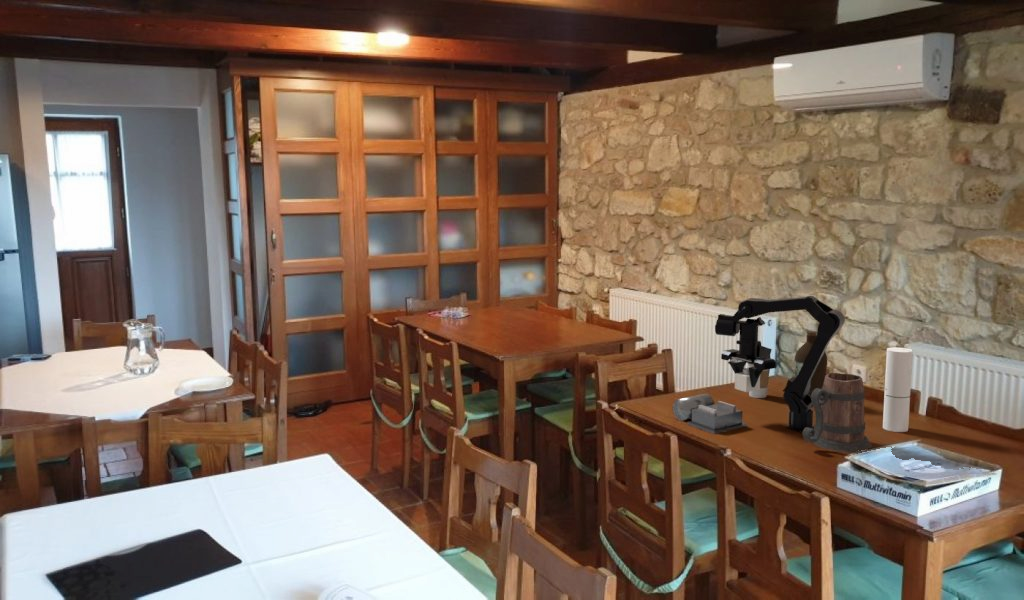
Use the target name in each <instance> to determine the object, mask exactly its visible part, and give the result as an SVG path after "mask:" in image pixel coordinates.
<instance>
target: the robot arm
mask: <svg viewBox="0 0 1024 600" xmlns="http://www.w3.org/2000/svg"><path fill="white" fill-rule="evenodd" d="M737 309H738V310H737V311H736V312H735V313H734V314H733V315H730V314H729V315H728V314H724V313H720V314H718V315H717V319H716V323H715V325H714V331H715V334H716V335H717V336H718V335H719V336H724V337H725V336H727V337H735V336H736V335H737V334H739V339H738V340H736V343H735V344H736V345H738V348H739V349H735V348H732V349H724V350H723V351H722V352H721V354H720V355H721V356H720V359H721V360H723V361H727V363H728V365H730V367H731V369H732V370H733V372H734V375H735V374H736V373H741V372H743V369H744V368H745V366H746V364H748V363H747V362H749V363H753V367H749V375H750V382H751V386H752V387H755V386H756V383H757V381H758V378H759V376H760V374H761V372H762V371H763V370H767V369H770V370H771V369H772V370H773V369H776V368H777V360H775V358H771V353H772V351H773V350H772V348H769V347H766V346H763V345H762V342H761V341H760V340H759V326H761V327H762V326H765V325H766V322H765V321H764V319H762V317H761V315H765V314H769V313H781V312H792V311H794V312H795V311H806V312H807V313H808V314H809V315H810V316H811V317H812V318H813V319H814V320H815V321H817V322H818V326H817V330H816V331H817V336H816V339H815V341H814V343H813V345H812V347H811V349H810V351H809V353H808V355H807V357H806V359H805V361H804V363H803V365H802V367H801V369H800V371H799V374H798V376H797V377H795V375H793V376H791V378H789V379H788V380H787V382H786V385H785V388H784V389H783V390H782V392H783V396H782V398H783V400H784V402H785V403H786V404H787V406H788V409H789V412H788V424H787V425H786V426H785V427H786V429H790V430H793V431H795V432H799V433H803V430H804V429H805V428H806V427H809V428H812V429H814V427H815V426H814V425H813V423H814V422H813V421H814V411H813V410H812V408H814V407H813V404H812V400H811V397H810V396H809V395H808V391H809V388H810V381H811V378H812V376H813V374H814V372H815V370H816V368H817V366H818V364H819V362H820V360H821V358H822V356H823V354H824V352H825V353H826V350H827V348H828V346H829V345H830V342H831V341H832V339H833V338H834V337H835V336H836V334H837V333H838V332H839V330H840V329H841V328H842V327H843V326H844V324H845V321H846V318H845V316H844V314H843V313H842V312H841V311H839V310H838V309H833V308H832V307H831V306H829V305H827V304H825V303H824V302H823V301H820V299H818V298H817V297H816V296H814V295H808V296H800V297H788V298H779V299H767V298H766V299H765V298H755V297H750V298H747V299H744V300H743V301H740V303H739V304H738V307H737ZM754 317H757V318H754ZM743 319H746V320H743ZM757 357H764V358H757ZM769 357H770V358H769Z"/></svg>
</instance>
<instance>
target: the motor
mask: <svg viewBox="0 0 1024 600" xmlns="http://www.w3.org/2000/svg"><path fill="white" fill-rule="evenodd" d="M672 411H673V415H674V417H675V418H676V419H677V420H679V421H681V422H682V421H687V420H688V421H687V423H686V424H687V425H689V426H691V427H694V428H696V429H699V430H702V431H704V432H706V433H707V432H708V433H710V434H713V435H716V434H719V433H720V434H721V433H724V432H729V431H734V430H738V429H741V428H745V427H748V426H747V425H748V423H746V422H743V410H741V409H737V405H735V404H731V403H729V402H728V403H727V402H725V401H721V400H718V401H717V403H716V404H715V400H714V398H713V397H712V396H711V395H710V394H708V393H702V394H697V395H692V396H688V397H687V396H686V397H683V398H677V399H675V400H674V401H673V404H672ZM689 420H690V421H689Z"/></svg>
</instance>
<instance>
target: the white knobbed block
mask: <svg viewBox="0 0 1024 600" xmlns="http://www.w3.org/2000/svg"><path fill="white" fill-rule="evenodd" d="M734 389H735V390H738V391H741V392H744V393H749V391H755V390H760V376H759V378H758V381H757V383H756V386H755V387H752V386H751V382H750V375H749V368H748V367H747V368H745V367H744V369H743V372H741V373H736V374H735V373H734Z"/></svg>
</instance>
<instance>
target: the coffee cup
mask: <svg viewBox="0 0 1024 600" xmlns="http://www.w3.org/2000/svg"><path fill="white" fill-rule="evenodd" d="M757 358H764V357H757ZM769 358H771V356H770V357H769ZM746 364H747V368H749V367H753V363H749V362H747V363H746ZM770 370H771V369H767V370H763V371H762V372H761V374H760V390H755V391H749V392H748V395H749V397H751V398H755V399H765V398H766V397H767V395H768V385H769V377H770Z"/></svg>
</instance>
